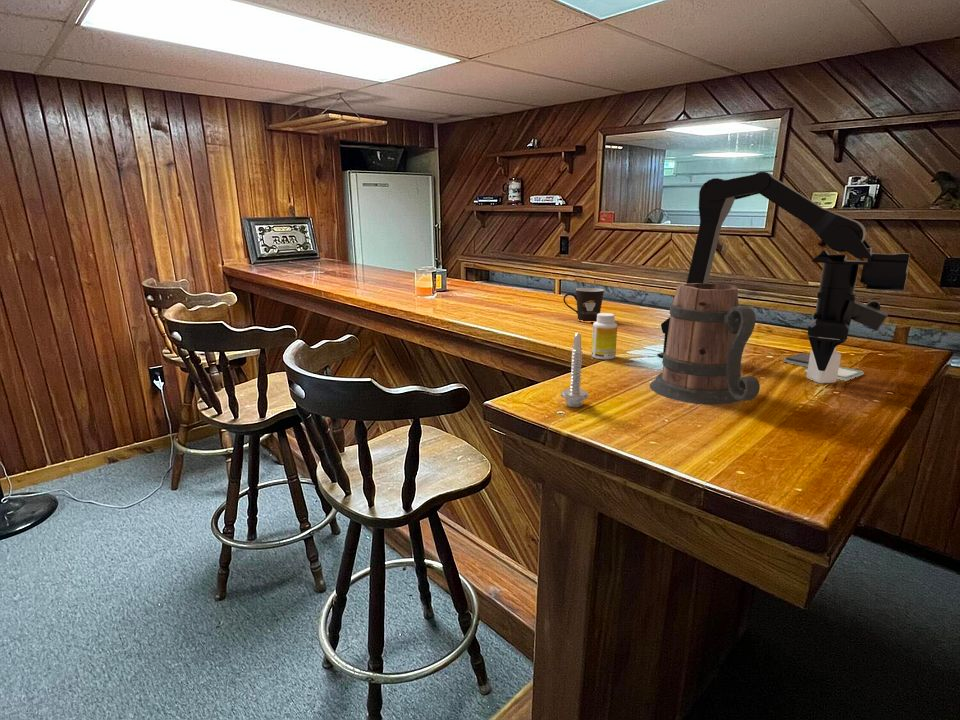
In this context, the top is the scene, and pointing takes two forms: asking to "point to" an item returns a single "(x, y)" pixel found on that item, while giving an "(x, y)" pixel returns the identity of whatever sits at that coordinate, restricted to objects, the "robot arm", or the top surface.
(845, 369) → the print card
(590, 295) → the coffee mug
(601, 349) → the supplement bottle
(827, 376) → the pepper shaker
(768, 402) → the top surface
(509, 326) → the top surface
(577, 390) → the screw
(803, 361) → the pad
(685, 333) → the tankard
